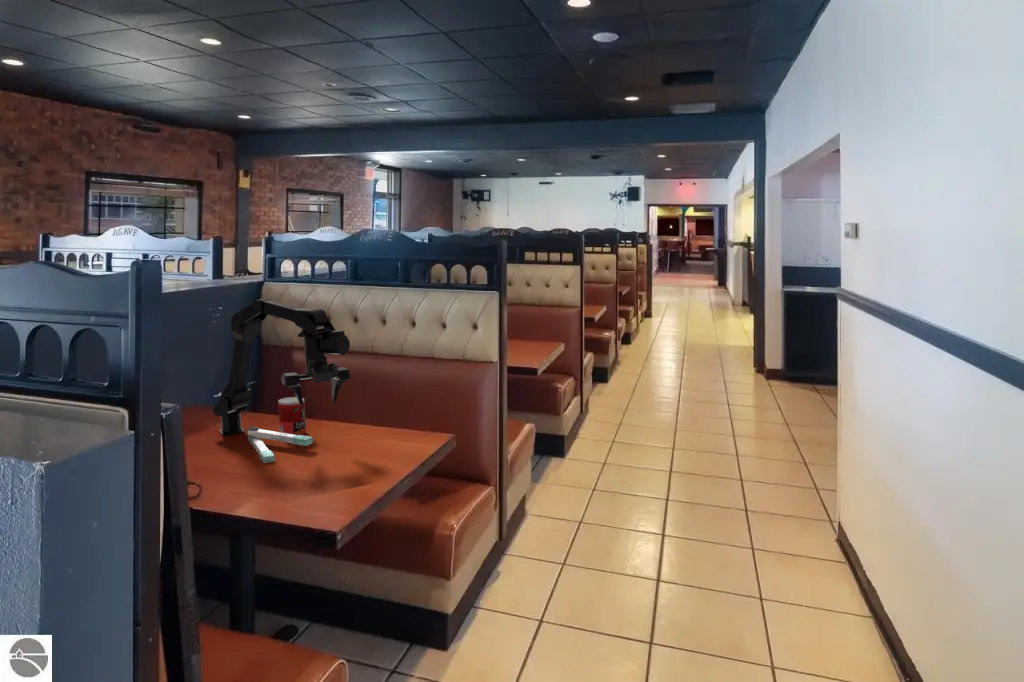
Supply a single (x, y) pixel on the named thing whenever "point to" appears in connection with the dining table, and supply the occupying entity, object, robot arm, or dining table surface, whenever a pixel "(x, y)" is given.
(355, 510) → the dining table surface
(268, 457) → the tongs lower
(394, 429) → the dining table surface
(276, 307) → the robot arm
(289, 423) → the canned food
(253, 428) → the tong arm
